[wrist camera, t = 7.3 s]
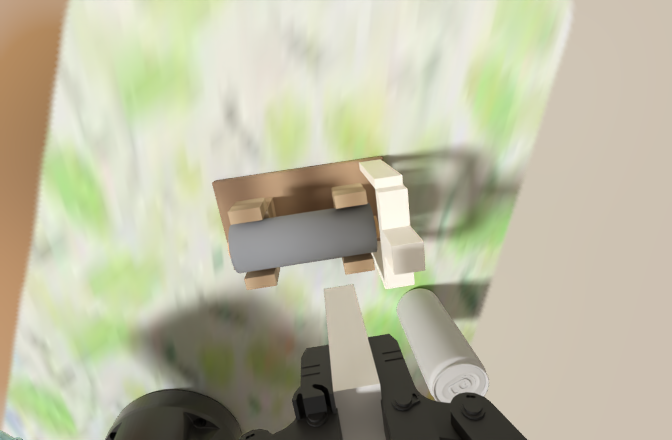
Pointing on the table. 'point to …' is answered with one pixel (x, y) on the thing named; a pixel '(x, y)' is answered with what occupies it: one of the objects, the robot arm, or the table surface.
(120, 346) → the table surface
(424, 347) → the beverage can
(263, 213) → the cradle board
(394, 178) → the white bar frame
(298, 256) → the grey capped cylinder
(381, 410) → the robot arm
